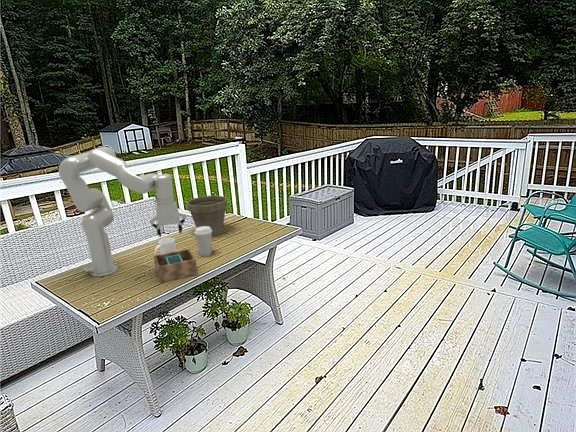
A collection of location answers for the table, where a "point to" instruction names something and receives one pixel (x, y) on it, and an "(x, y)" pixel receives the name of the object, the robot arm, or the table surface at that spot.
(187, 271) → the big crate
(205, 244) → the coffee cup
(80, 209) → the robot arm
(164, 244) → the mug
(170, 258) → the small crate
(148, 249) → the table surface
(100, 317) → the table surface
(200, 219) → the plant pot
